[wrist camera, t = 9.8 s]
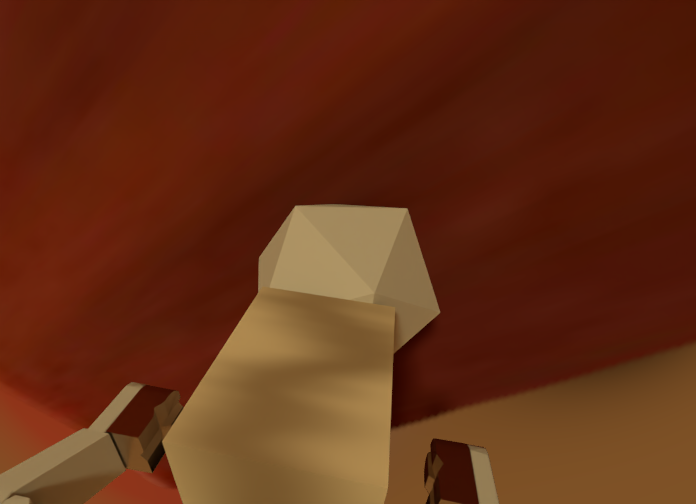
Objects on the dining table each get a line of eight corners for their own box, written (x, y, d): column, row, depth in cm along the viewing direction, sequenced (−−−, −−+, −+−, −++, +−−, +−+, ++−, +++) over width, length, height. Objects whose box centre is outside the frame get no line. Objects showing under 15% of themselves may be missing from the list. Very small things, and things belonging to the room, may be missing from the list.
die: (259, 241, 21) (260, 404, 17) (256, 141, 14) (255, 384, 10) (379, 241, 23) (407, 387, 19) (432, 153, 16) (496, 359, 12)
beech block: (395, 307, 12) (388, 488, 7) (378, 396, 15) (363, 579, 9) (262, 286, 13) (161, 441, 7) (267, 376, 15) (195, 540, 10)
